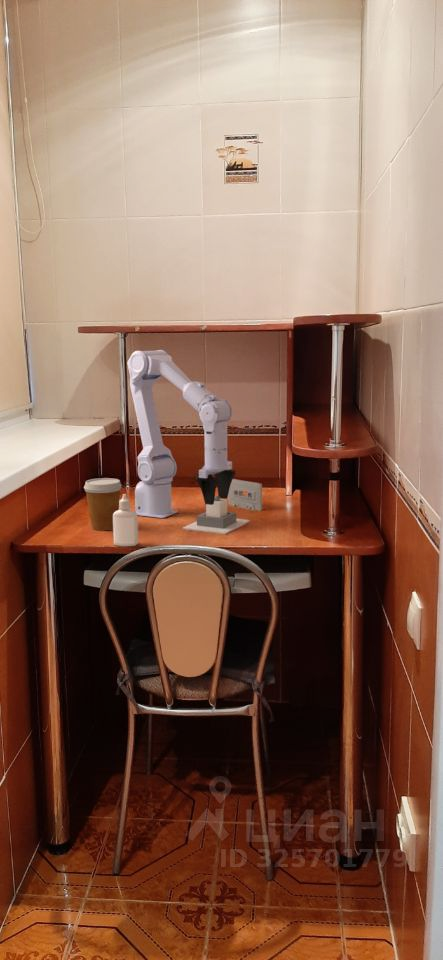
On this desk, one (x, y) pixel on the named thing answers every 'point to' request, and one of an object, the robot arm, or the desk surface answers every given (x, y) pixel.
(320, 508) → the desk surface
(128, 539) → the eye dropper bottle
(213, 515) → the block
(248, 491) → the cassette
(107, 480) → the disposable coffee cup
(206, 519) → the socket dock
